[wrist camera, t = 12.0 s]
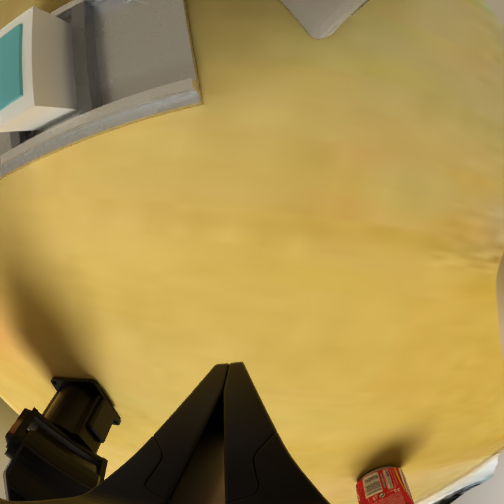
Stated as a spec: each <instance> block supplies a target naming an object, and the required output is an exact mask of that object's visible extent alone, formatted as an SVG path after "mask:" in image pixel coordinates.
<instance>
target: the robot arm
mask: <svg viewBox="0 0 504 504" xmlns="http://www.w3.org/2000/svg"><path fill="white" fill-rule="evenodd" d="M51 383H52V384H53V386H54V387H55V389H56V390H57V392H56V394H55V395H54V397H53V398H52V400H51V401H50V403H49V405H48V406H47V408H46V409H45V411H44V412H43V414H40V413H39V412H38V410H37V409H36V408H35V407H34V408H33V410H32V411H31V410H28V409H26V408H25V409H24V410H23V411H22V413H21V414H20V416H19V417H18V419H17V420H16V422H15V423H14V424H13V426H12V427H11V429H10V430H9V431H8V433H7V434H6V436H5V438H6V442H7V446H6V448H7V451H6V452H5V455H6V456H7V457H9V458H10V459H11V460H10V462H9V463H8V465H7V467H6V469H5V471H4V473H3V478H4V486H5V494H6V500H4V499H1V498H0V504H330V503H329V502H328V501H327V500H326V499H325V498H324V496H323V495H322V494H321V493H320V492H319V491H318V489H317V488H316V487H315V486H314V485H313V484H312V482H311V481H310V480H309V479H308V478H307V476H306V475H305V474H304V473H303V471H302V470H301V469H300V468H299V466H298V465H297V464H296V462H295V461H294V460H293V458H292V457H291V455H290V454H289V452H288V450H287V449H286V447H285V445H284V444H283V442H282V440H281V438H280V436H279V434H278V433H277V430H276V428H275V426H274V424H273V422H272V420H271V419H270V417H269V415H268V413H267V411H266V409H265V406H264V404H263V402H262V400H261V398H260V396H259V394H258V392H257V390H256V388H255V386H254V384H253V382H252V380H251V378H250V376H249V373H248V371H247V369H246V367H245V365H244V363H243V362H235V363H231V364H230V365H229V364H228V363H225V364H217V365H215V366H214V367H213V368H212V369H211V371H210V372H209V373H208V374H207V375H206V376H205V378H204V379H203V380H202V381H201V382H200V383H199V385H198V386H197V387H196V388H195V389H194V390H193V391H192V393H191V394H190V395H189V396H188V397H187V398H186V399H185V401H184V402H183V403H182V404H181V405H180V406H179V407H178V408H177V410H176V411H175V412H174V413H173V414H172V415H171V416H170V417H169V419H168V420H167V421H166V422H165V423H164V424H163V425H162V426H161V427H160V429H159V430H158V431H157V432H156V433H155V434H154V436H152V437H151V438H150V439H149V440H148V441H147V443H146V444H145V445H144V446H143V447H142V448H141V449H140V450H139V451H138V452H137V453H136V454H135V455H134V456H133V457H131V458H130V459H129V460H128V461H127V462H126V463H125V464H123V465H122V466H121V467H120V468H119V469H118V470H116V471H115V472H114V473H113V474H111V475H110V476H109V477H108V478H106V479H105V480H104V477H105V472H106V467H107V462H108V460H106V459H105V458H102V457H100V456H99V455H97V454H96V453H97V451H98V449H99V446H100V444H101V443H104V441H105V439H106V437H107V435H108V432H109V430H110V428H111V425H112V424H113V425H119V424H120V422H121V420H120V418H119V417H118V415H117V414H116V412H115V411H114V409H113V408H112V406H111V405H110V403H109V401H108V400H107V398H106V397H105V395H104V393H103V392H102V390H101V388H100V387H99V385H98V383H97V382H96V381H94V380H87V379H71V378H58V377H53V378H52V379H51ZM27 428H28V429H29V431H28V430H27Z"/></svg>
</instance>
